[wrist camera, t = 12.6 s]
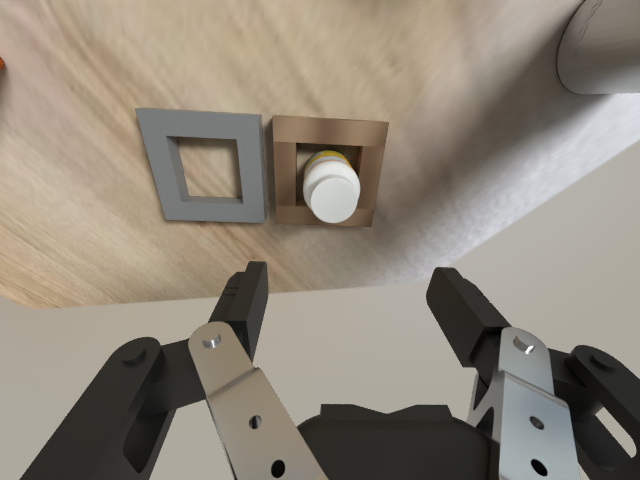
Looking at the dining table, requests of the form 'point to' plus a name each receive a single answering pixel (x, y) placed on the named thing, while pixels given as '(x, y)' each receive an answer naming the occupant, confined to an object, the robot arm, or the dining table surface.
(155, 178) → the socket
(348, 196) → the supplement bottle
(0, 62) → the carrot
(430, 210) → the dining table surface
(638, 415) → the robot arm
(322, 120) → the socket
